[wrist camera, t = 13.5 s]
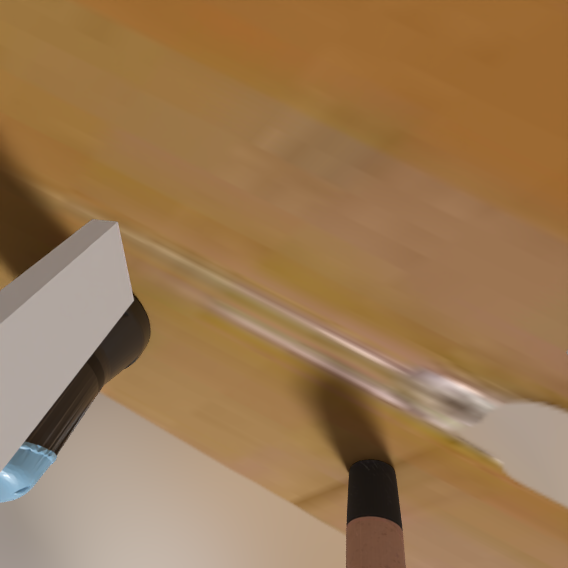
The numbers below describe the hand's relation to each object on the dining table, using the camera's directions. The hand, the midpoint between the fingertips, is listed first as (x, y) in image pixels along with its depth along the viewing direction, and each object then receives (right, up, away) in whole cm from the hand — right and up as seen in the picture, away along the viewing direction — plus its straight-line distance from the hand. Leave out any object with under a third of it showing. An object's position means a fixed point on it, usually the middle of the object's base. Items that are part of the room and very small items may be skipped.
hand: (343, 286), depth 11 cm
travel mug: (+12, -29, +52) cm, 61 cm away
